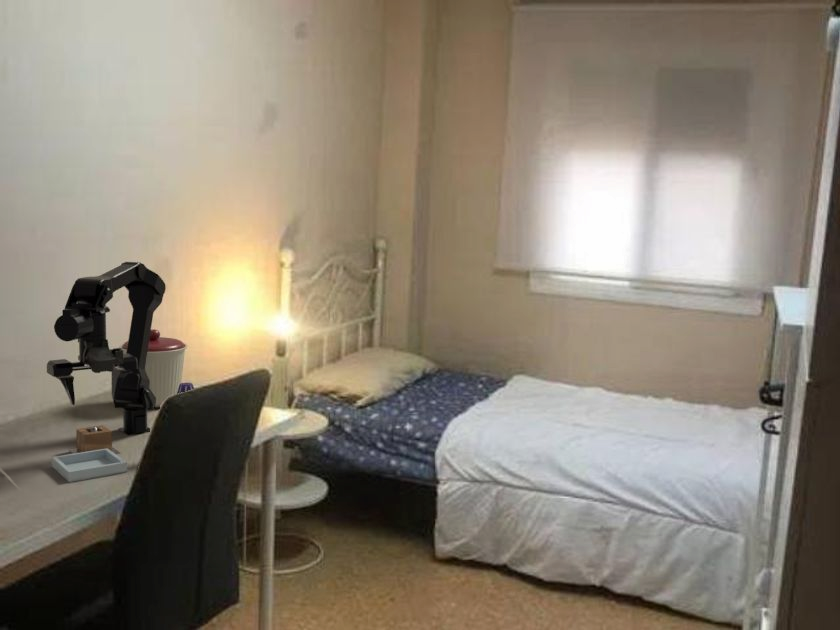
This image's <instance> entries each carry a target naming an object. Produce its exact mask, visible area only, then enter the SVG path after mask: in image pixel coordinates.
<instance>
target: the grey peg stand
mask: <svg viewBox="0 0 840 630" xmlns="http://www.w3.org/2000/svg"><path fill="white" fill-rule="evenodd" d="M91 427H92V428H91V432H97V427H93V426H91ZM67 450H68V451H69V452H70V453H71V454H74V453H80V452H79V451H77V447H75V448H70V449H69V448H68V449H67ZM112 452H113V453H115V454H116V455H120V454H121V452H120V451H119V450H117V449H116V448H115V447H113V446H112Z"/></svg>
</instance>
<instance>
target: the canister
mask: <svg viewBox="0 0 840 630" xmlns="http://www.w3.org/2000/svg"><path fill="white" fill-rule="evenodd" d="M127 346H128V340H127V341H126V342H124V343H123V344H121V345H119V346H118V348H122V350H123V354H126V352H127ZM187 348H188V345H187V343H184V342H183V341H182V340H180V339H177V338H172V337H166V336H165V337H162V336H161V332H160V330H158V329H152V328H151V332H150V338H149V345H148V351H147V358H146V364H145V371H146V373H147V376H148V378H149V380H150V385H149V388H150V390H151V391H152V393H153V394H154V396H155V397H156V404H155V408H156V409H157V408H161V407H160V405H161V404H162V402H163V401H164V400H165V399H166V398H167V397H168V396H170V395H172V394H176V393H177V392H178V388H179V385H180V384H181V383H183V382H182V381H183V380H182V379H183V372H184V363H185V354H186V353H185V352H186V349H187ZM155 408H154V409H155Z"/></svg>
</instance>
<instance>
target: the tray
mask: <svg viewBox="0 0 840 630" xmlns="http://www.w3.org/2000/svg"><path fill="white" fill-rule="evenodd" d="M127 462H128V461H126V460H124V459H123V458H122V457H120V456H119V455H118V454H115V453H113V452H112V451H111V450H109V449H108V448H106V449H100V450H93V451H87V452H81V453H74V454H73V453H68V454H63V455H57V456H56V455H54V456H51V467H52V468H53V469H54V470H55V471H56V473H58V474H59V475H60V476H62V477H63V478H64V479H65V480H66V481H67V482H68V483H72V482H78V481H83V480H89V479H95V478H101V477H107V476H111V475H112V476H113V475H118V474H124V473H128V463H127Z"/></svg>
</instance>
